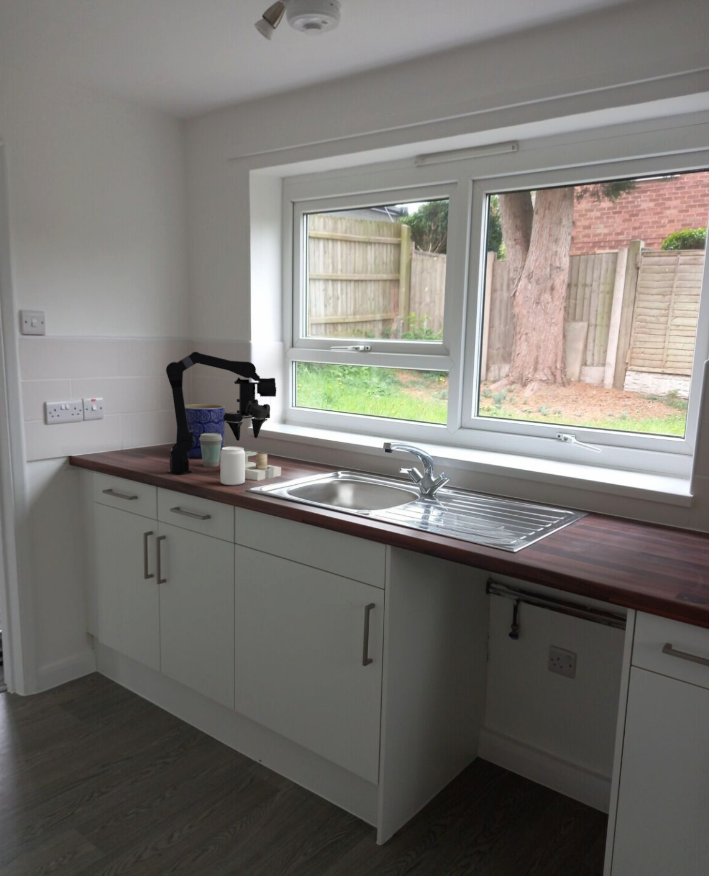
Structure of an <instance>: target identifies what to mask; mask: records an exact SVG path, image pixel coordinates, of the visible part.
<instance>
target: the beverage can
mask: <svg viewBox="0 0 709 876" xmlns="http://www.w3.org/2000/svg"><path fill="white" fill-rule="evenodd" d="M244 449H245V448H244V447H242V446H225V447H223V448H222V451H221V453H220V458H219V465H220V469H219V470H220V479H219V480H220V483H221V484H223V485H226V486H240V485H243V484H245V482H246V478H245V451H246V450H244Z"/></svg>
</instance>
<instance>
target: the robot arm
mask: <svg viewBox="0 0 709 876" xmlns="http://www.w3.org/2000/svg"><path fill="white" fill-rule="evenodd" d="M195 364H200V365H205V366H208V367H213V368H217V369H221V370H226V371H229V372H231V373H234V374H236V375H238V377H237V378H236V380H234V382H233V383H234V384H235V385H239V386H238V387H239V389H238V391H239V393H238V396H239V397H238V398H236V402H237V403H239V405H238V409H237V410H236V412H233V411H232V412H225V414H224V415H223V421H225V424H228V426H229V428H230V430H231V431H232V434H233V436H234V438H235V439H236V441H237V442H238V441H240V438H241V427H242V424H243V420H244V419H250V421H251V424H252V426H251V427H252V433H253V436H254V437H253V438H255V439H258V437H259V433H260V432H261V429H262V425H263V424H264V423H265V422H267V421H268V419H270V418H271V412H270V411H271V405H270V404H268V403H265V404H259V400H258V399H256V394H258V395H259V397H264V398H265V397H266V398H267V397H270V398H273V397H277V387H276V378H275V377H270V378H269V377H267V378H265V377H264V378H263V377H261V376H260V375H258V373H257V368H256V366H255V364H253V363H252V362H250V361H247V360H246V361H245V360H232V359H231V360H230V359H225V358H222V357H218V356H213V355H209V354H205V353H201V352H199V351H193V352H191V353H190V354H189V355H187V356H185V357H184V358H182V359H180V360H179V361H171V362H169V363H168V364H167V366H166V367H165V373H166V375H167V378H168V382H169V385H170V387H171V392H172V397H173V398H172V399H173V407H174V414H175V421H176V441H175V442H176V443H175V444H173V446H172V447H171V448H170V452H169V454H170V455H169V470H166V473H167V474H168V473H169V474H171V475H172V474H174V475H184V474H189V473H192V470H190V464H189V463H190V461H189V456H187V452H189V451H190V450H191V449H192V447H193V443H195V440H194V438H193V430H190V431H189V428H188V425H187V418H186V410H185V405H186V403H185V397H184V388H183V386H184V384H183V383H184V371H186V370H188V369H189V368H191V367H193V366H194V365H195ZM241 377H243V378H242V379H241ZM249 379H251V380H253V381H254V382H253V381H250V380H249Z"/></svg>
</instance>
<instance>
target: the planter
mask: <svg viewBox="0 0 709 876" xmlns="http://www.w3.org/2000/svg"><path fill="white" fill-rule="evenodd" d="M185 410H186V418H187V425H188V428H189V431H190V430H193V438H194V440H195V443H193V447H192V449H191V450H190V451H189V452H187V456H188V458H193V459H202V452H201V443H200V440H199V439H200V436H201V434H205V433H217V434H221V437H222V440H221V449H220V453H221V451H222V448H224V446H225V439H226V421H223V415H224V414H225V413H226V406H225V405H221V404H211V403H210V404H209V403H194V404H193V403H192V404H191V403H190V404H185Z"/></svg>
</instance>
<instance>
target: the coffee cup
mask: <svg viewBox="0 0 709 876" xmlns="http://www.w3.org/2000/svg"><path fill="white" fill-rule="evenodd" d="M199 440H200V443H201V452H202V458H201V459H202V466H203V467H206V468H215V467H219V465H220V449H221V440H222V437H221V434H217V433H205V434H201V436H200V439H199Z"/></svg>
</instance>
